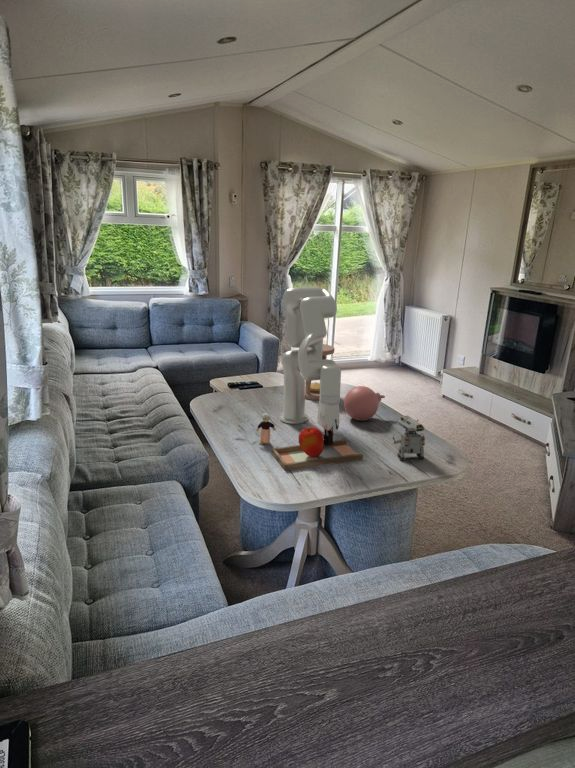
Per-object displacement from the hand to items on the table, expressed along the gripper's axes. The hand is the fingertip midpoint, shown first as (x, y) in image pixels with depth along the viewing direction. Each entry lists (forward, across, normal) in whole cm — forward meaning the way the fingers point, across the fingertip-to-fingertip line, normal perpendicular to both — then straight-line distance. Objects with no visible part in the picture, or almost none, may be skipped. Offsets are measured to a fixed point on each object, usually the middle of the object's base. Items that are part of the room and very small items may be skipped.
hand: (328, 444), depth 200 cm
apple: (+4, -1, -5) cm, 6 cm away
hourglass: (+4, -70, +25) cm, 75 cm away
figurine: (+5, +10, +29) cm, 31 cm away
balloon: (+4, -31, +33) cm, 46 cm away
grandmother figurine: (+5, -19, -18) cm, 27 cm away
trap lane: (+5, -1, -4) cm, 6 cm away
